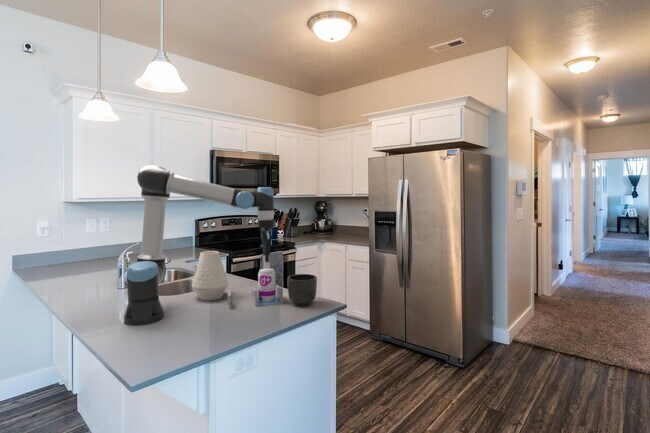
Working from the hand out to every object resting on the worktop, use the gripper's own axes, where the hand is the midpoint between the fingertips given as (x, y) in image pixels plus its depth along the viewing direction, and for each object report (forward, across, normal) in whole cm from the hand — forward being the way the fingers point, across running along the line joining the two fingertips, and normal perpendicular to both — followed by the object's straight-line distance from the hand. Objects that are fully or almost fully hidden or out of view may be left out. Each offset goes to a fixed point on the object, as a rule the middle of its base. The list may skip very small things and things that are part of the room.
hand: (266, 268), depth 179 cm
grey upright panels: (+16, 0, +6) cm, 17 cm away
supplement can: (+16, 0, 0) cm, 16 cm away
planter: (+17, -10, -15) cm, 24 cm away
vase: (+17, +16, +26) cm, 35 cm away
